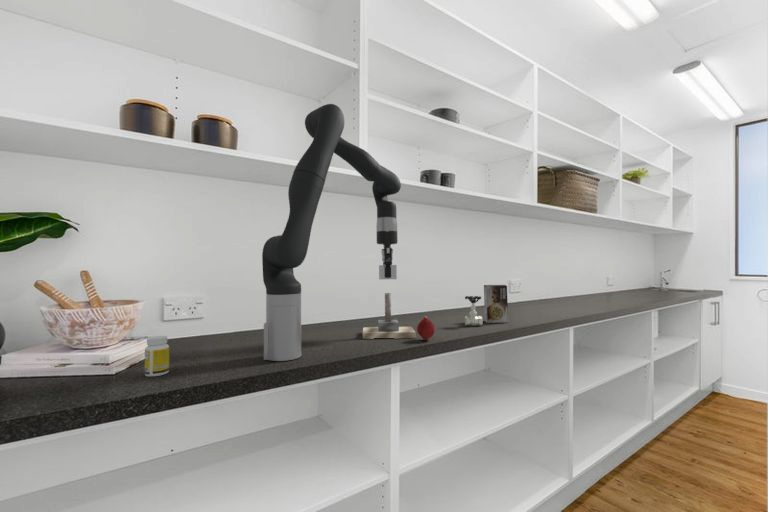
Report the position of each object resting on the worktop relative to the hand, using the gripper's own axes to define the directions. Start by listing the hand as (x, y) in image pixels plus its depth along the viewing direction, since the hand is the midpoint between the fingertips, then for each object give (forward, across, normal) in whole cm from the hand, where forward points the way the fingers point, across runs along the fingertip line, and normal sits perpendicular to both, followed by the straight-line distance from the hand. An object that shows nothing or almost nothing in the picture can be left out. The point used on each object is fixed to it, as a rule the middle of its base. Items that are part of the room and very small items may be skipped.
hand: (387, 277), depth 127 cm
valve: (+21, -17, +36) cm, 45 cm away
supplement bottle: (+21, +42, -56) cm, 73 cm away
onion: (+21, +10, +12) cm, 26 cm away
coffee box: (+21, -27, +49) cm, 60 cm away
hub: (+1, 0, 0) cm, 1 cm away
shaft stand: (+21, 0, 0) cm, 21 cm away
